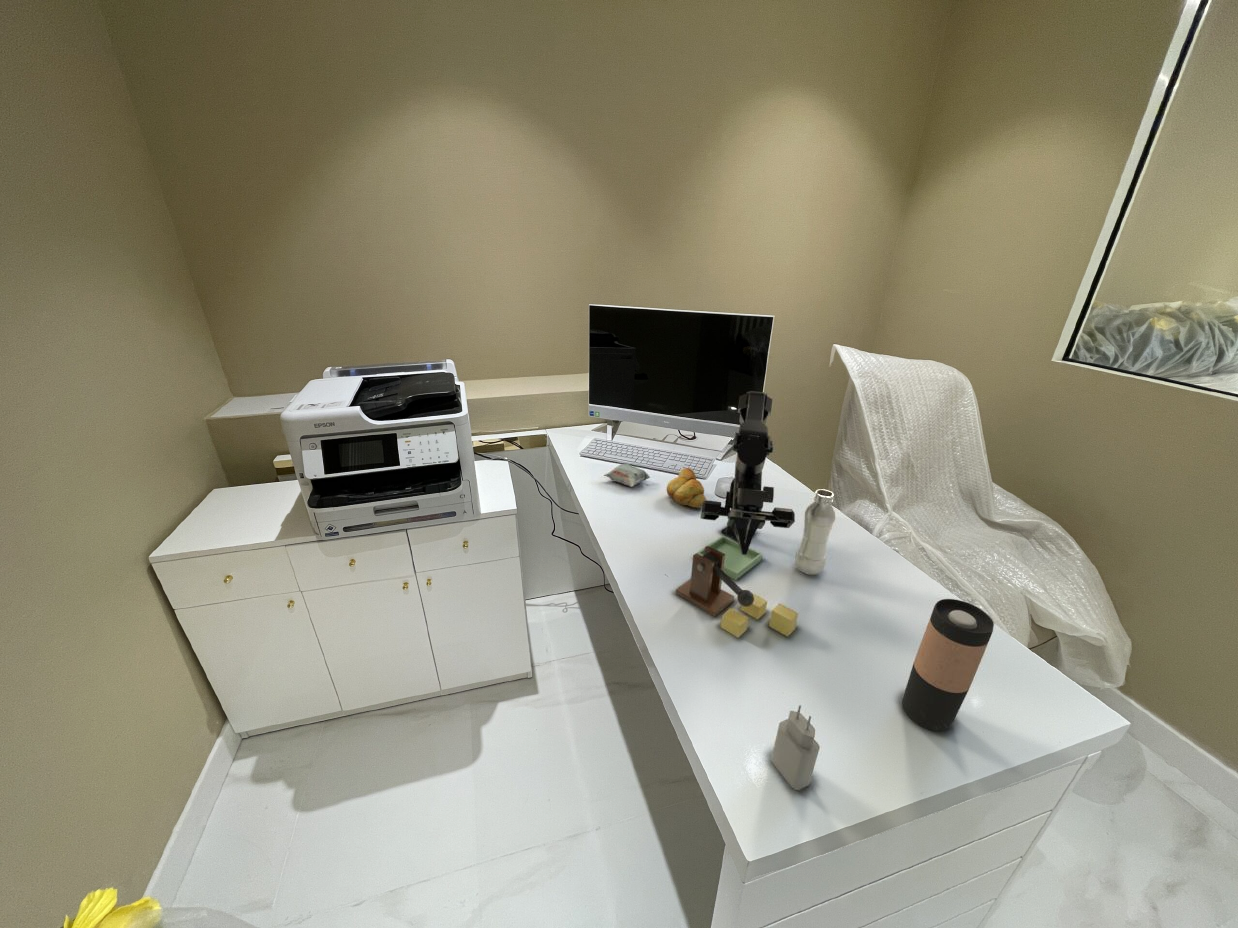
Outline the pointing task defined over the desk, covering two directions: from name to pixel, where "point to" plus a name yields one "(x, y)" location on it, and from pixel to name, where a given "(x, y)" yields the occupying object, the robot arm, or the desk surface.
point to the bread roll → (686, 489)
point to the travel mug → (946, 663)
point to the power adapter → (795, 750)
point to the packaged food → (627, 475)
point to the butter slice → (783, 619)
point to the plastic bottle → (816, 533)
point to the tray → (734, 557)
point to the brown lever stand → (706, 584)
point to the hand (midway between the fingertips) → (744, 554)
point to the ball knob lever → (731, 583)
